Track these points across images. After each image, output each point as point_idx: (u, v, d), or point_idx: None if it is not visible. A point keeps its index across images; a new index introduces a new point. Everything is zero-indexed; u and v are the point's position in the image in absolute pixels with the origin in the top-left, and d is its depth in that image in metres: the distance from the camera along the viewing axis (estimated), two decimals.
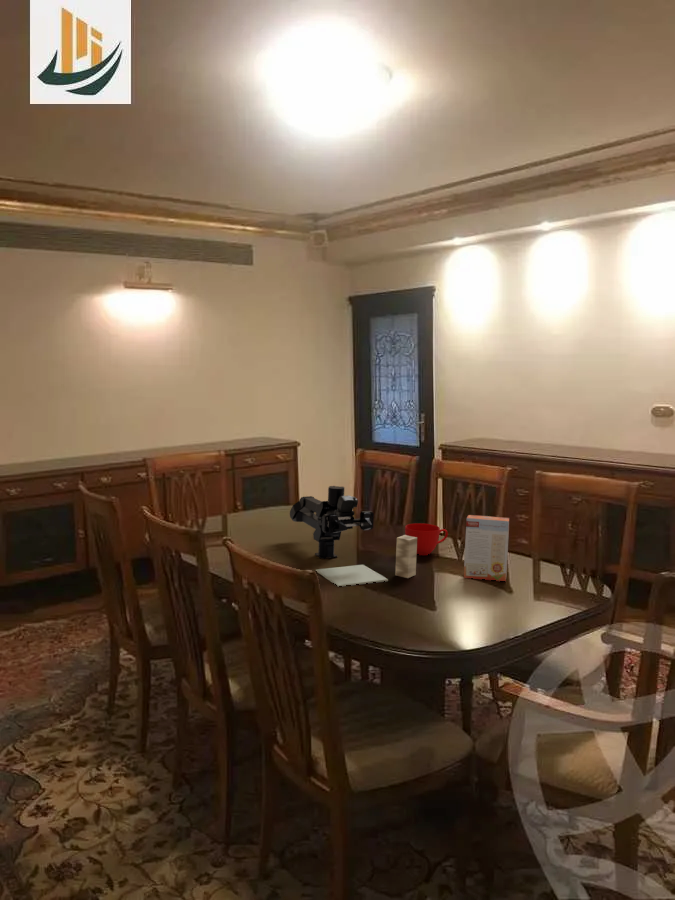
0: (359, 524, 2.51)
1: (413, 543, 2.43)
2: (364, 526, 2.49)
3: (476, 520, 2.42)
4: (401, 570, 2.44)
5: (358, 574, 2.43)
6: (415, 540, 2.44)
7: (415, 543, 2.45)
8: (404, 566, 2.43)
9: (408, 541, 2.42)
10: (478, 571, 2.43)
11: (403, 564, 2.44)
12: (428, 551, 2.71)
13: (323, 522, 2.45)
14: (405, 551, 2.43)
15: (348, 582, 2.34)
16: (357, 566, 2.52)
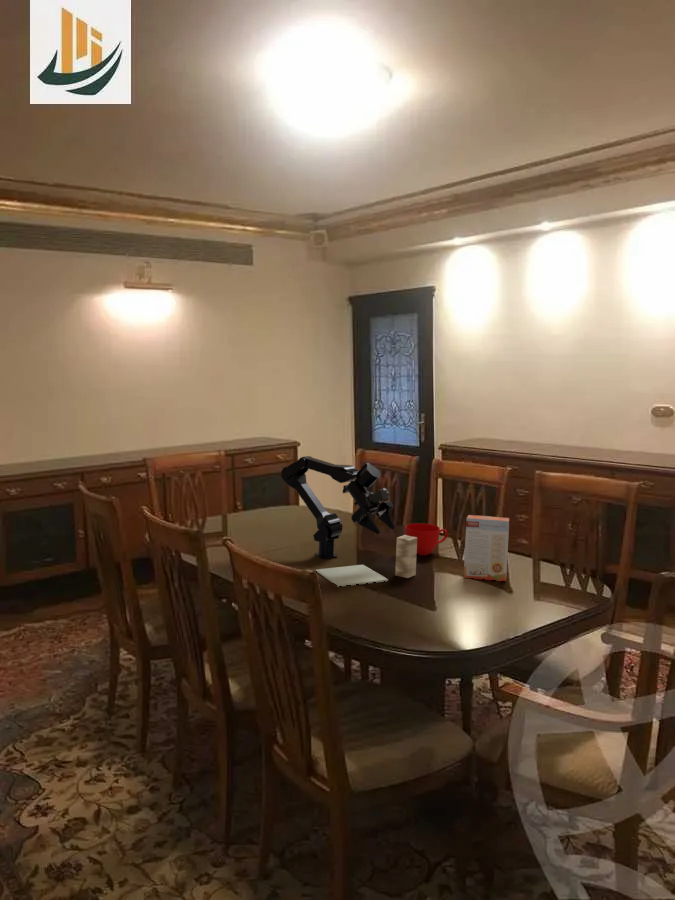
0: (377, 511, 2.56)
1: (413, 543, 2.43)
2: (382, 518, 2.56)
3: (476, 520, 2.42)
4: (401, 570, 2.44)
5: (358, 574, 2.43)
6: (415, 540, 2.44)
7: (415, 543, 2.45)
8: (404, 566, 2.43)
9: (408, 541, 2.42)
10: (478, 571, 2.43)
11: (403, 564, 2.44)
12: (428, 551, 2.71)
13: (358, 515, 2.44)
14: (405, 551, 2.43)
15: (348, 582, 2.34)
16: (357, 566, 2.52)
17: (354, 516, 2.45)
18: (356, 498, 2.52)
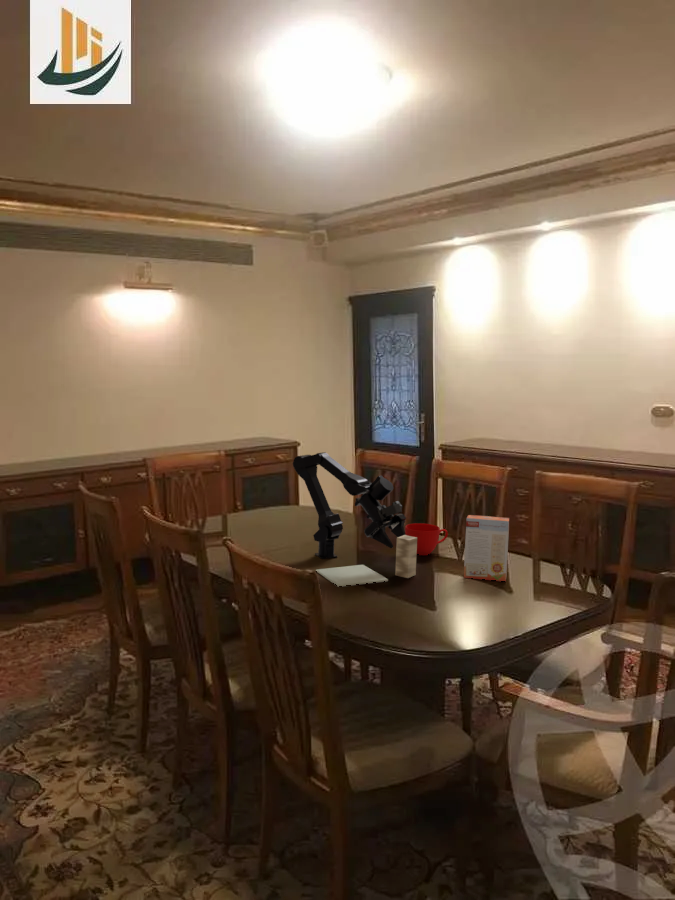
0: None
1: (413, 543, 2.43)
2: (395, 531, 2.53)
3: (476, 520, 2.42)
4: (401, 570, 2.44)
5: (358, 574, 2.43)
6: (415, 540, 2.44)
7: (415, 543, 2.45)
8: (404, 566, 2.43)
9: (408, 541, 2.42)
10: (478, 571, 2.43)
11: (403, 564, 2.44)
12: (428, 551, 2.71)
13: (371, 529, 2.42)
14: (405, 551, 2.43)
15: (348, 582, 2.34)
16: (357, 566, 2.52)
17: (367, 530, 2.43)
18: (369, 511, 2.50)
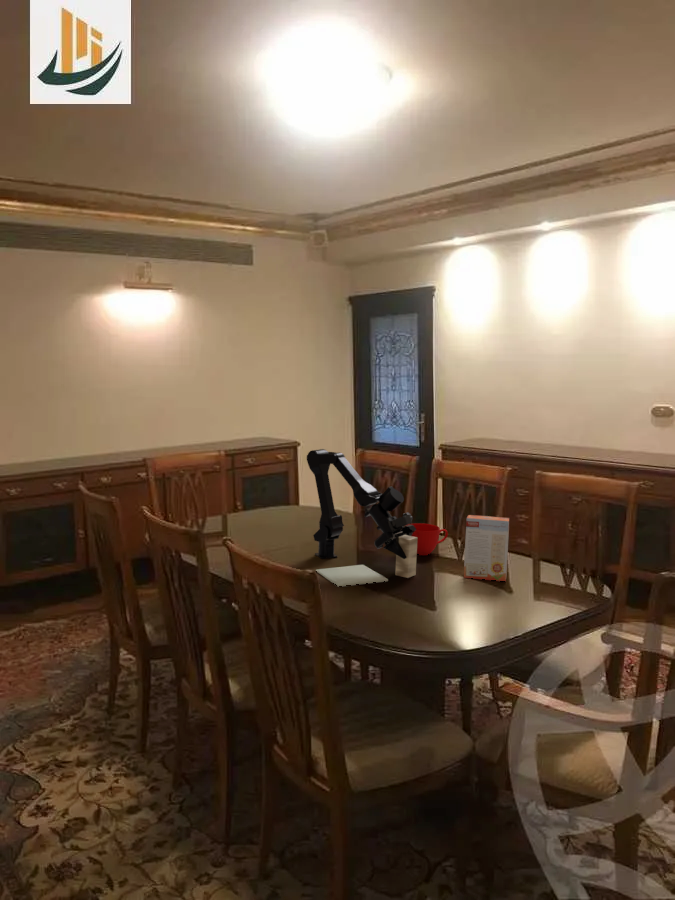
0: None
1: (413, 543, 2.43)
2: None
3: (476, 520, 2.42)
4: (401, 570, 2.44)
5: (358, 574, 2.43)
6: (415, 540, 2.45)
7: (415, 543, 2.45)
8: (404, 565, 2.43)
9: (408, 541, 2.42)
10: (478, 571, 2.43)
11: (403, 564, 2.44)
12: (428, 551, 2.71)
13: (381, 541, 2.40)
14: (406, 551, 2.43)
15: (348, 582, 2.34)
16: (357, 566, 2.52)
17: (377, 541, 2.41)
18: (379, 522, 2.48)
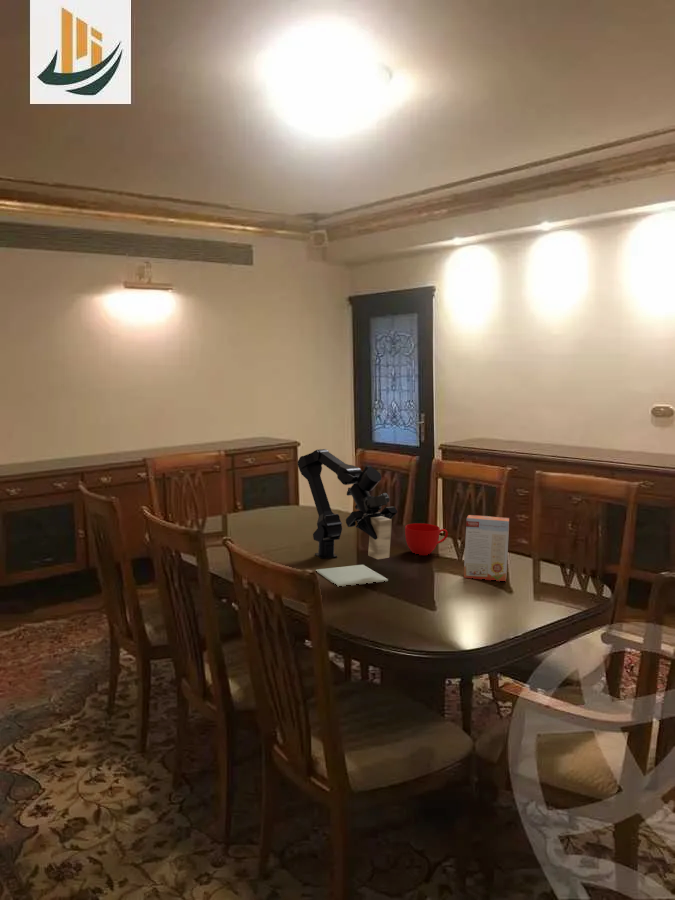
0: None
1: (385, 525, 2.39)
2: None
3: (476, 520, 2.42)
4: (372, 551, 2.41)
5: (358, 574, 2.43)
6: (389, 522, 2.40)
7: (389, 525, 2.40)
8: (375, 546, 2.40)
9: (379, 522, 2.38)
10: (478, 571, 2.43)
11: (374, 545, 2.40)
12: (428, 551, 2.71)
13: (350, 519, 2.39)
14: (377, 532, 2.39)
15: (348, 582, 2.34)
16: (357, 566, 2.52)
17: (348, 520, 2.40)
18: (356, 501, 2.46)
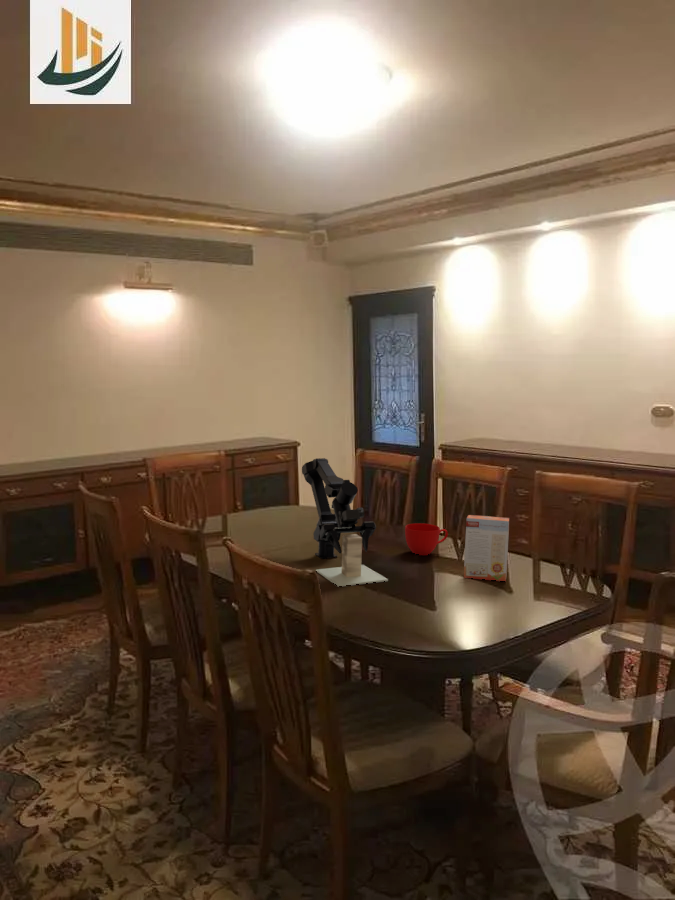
0: None
1: (354, 543, 2.39)
2: (362, 538, 2.47)
3: (476, 520, 2.42)
4: (344, 568, 2.42)
5: None
6: (359, 540, 2.40)
7: (359, 543, 2.40)
8: (345, 564, 2.41)
9: (347, 539, 2.39)
10: (478, 571, 2.43)
11: (345, 562, 2.41)
12: (428, 551, 2.71)
13: (322, 531, 2.42)
14: (346, 549, 2.40)
15: (348, 582, 2.34)
16: None
17: (320, 532, 2.43)
18: (335, 514, 2.49)
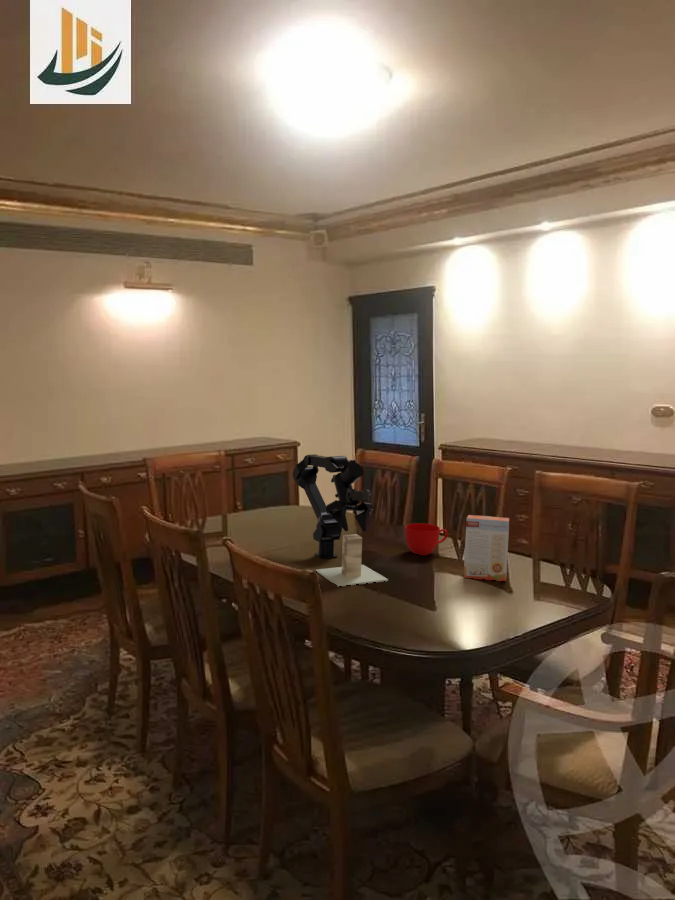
0: None
1: (354, 543, 2.39)
2: (358, 518, 2.54)
3: (476, 520, 2.42)
4: (344, 568, 2.42)
5: None
6: (359, 540, 2.40)
7: (359, 543, 2.40)
8: (345, 564, 2.41)
9: (347, 539, 2.39)
10: (478, 571, 2.43)
11: (345, 562, 2.41)
12: (428, 551, 2.71)
13: (332, 507, 2.44)
14: (346, 549, 2.40)
15: (348, 582, 2.34)
16: None
17: (328, 506, 2.45)
18: (338, 490, 2.52)
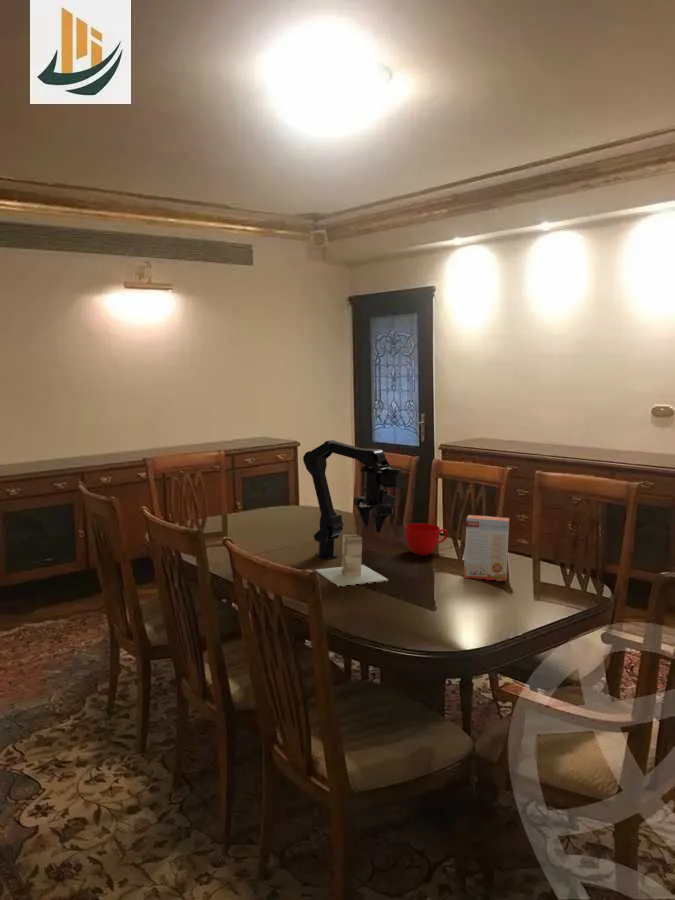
0: None
1: (354, 543, 2.39)
2: (362, 511, 2.58)
3: (476, 520, 2.42)
4: (344, 568, 2.42)
5: None
6: (359, 540, 2.40)
7: (359, 543, 2.40)
8: (345, 564, 2.41)
9: (347, 539, 2.39)
10: (478, 571, 2.43)
11: (345, 562, 2.41)
12: (428, 551, 2.71)
13: (386, 511, 2.46)
14: (346, 549, 2.40)
15: (348, 582, 2.34)
16: None
17: (383, 510, 2.45)
18: (375, 488, 2.50)
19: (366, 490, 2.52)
